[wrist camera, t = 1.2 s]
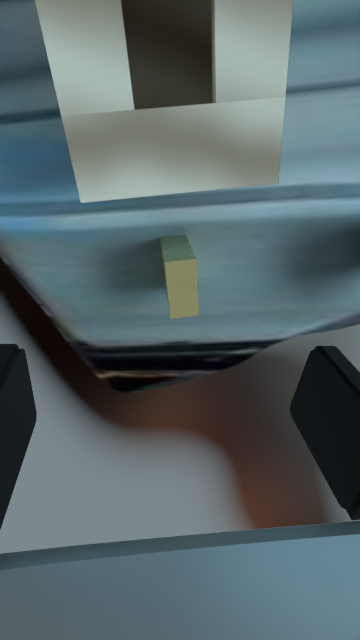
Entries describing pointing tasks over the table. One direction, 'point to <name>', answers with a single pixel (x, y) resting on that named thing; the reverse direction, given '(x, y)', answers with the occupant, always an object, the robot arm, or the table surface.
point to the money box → (169, 92)
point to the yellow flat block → (180, 276)
